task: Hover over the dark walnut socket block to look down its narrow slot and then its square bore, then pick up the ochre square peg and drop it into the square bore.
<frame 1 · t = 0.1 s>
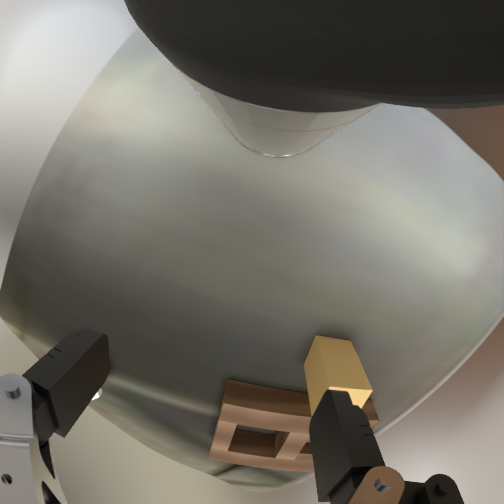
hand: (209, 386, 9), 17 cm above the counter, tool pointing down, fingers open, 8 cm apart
square peg: (327, 353, 28), on the counter
socket block: (289, 423, 31), on the counter
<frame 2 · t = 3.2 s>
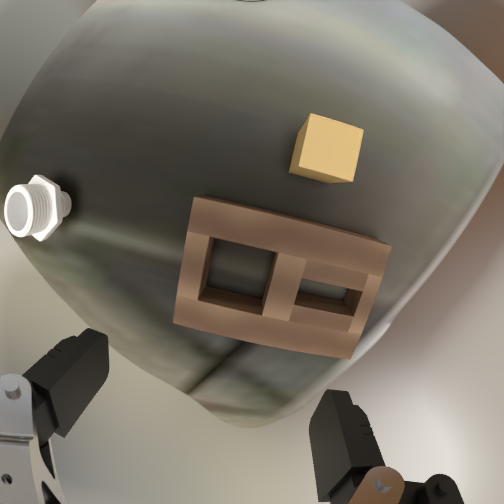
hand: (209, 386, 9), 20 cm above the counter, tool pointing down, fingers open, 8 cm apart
pipe fitting: (63, 204, 28), on the counter
square peg: (313, 158, 26), on the counter
socket block: (279, 274, 29), on the counter
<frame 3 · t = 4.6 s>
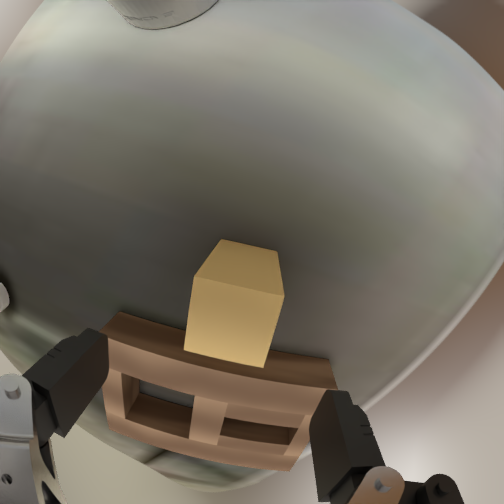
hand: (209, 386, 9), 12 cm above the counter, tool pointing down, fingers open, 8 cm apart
pipe fitting: (3, 293, 23), on the counter
square peg: (243, 271, 20), on the counter
socket block: (211, 391, 23), on the counter
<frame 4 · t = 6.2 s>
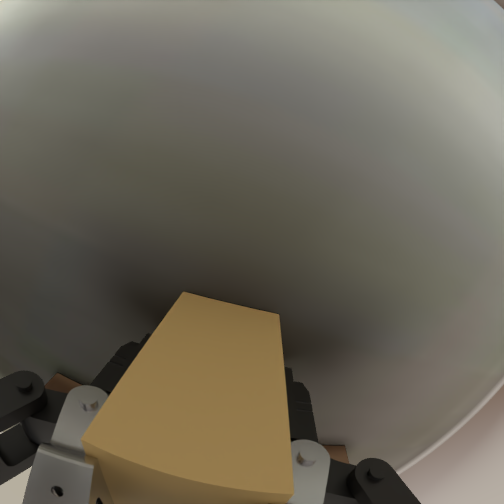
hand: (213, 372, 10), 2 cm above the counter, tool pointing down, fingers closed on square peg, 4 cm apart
square peg: (221, 343, 12), on the counter, touching gripper
socket block: (185, 472, 15), on the counter
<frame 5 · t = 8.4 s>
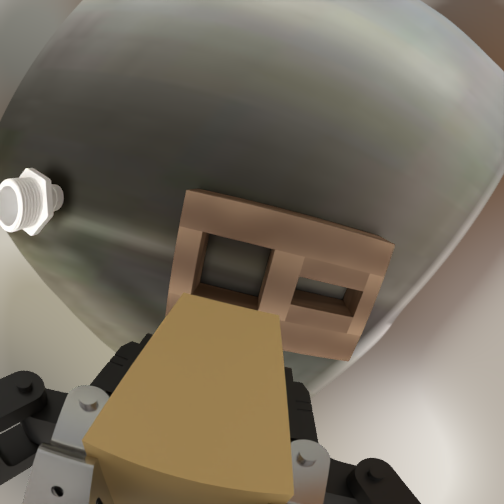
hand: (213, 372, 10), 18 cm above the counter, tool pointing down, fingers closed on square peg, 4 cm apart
pipe fitting: (55, 197, 27), on the counter
square peg: (221, 344, 12), point 16 cm above the counter, touching gripper
socket block: (275, 271, 27), on the counter
when the fingers open (5 cm above the counter, at t = 10.8 s): square peg drops 3 cm, resting in socket block.
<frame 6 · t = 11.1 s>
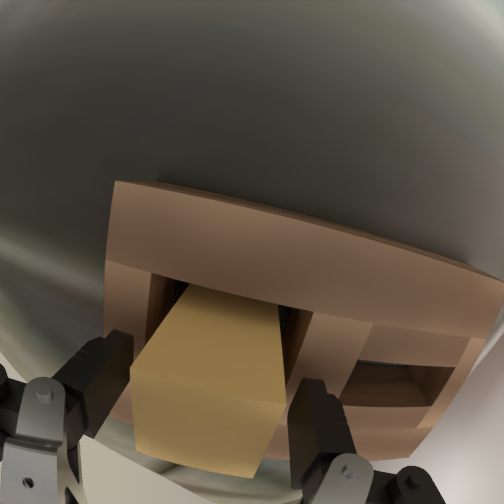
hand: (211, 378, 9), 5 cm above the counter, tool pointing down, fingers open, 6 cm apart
square peg: (229, 317, 14), resting in socket block
socket block: (302, 333, 14), on the counter
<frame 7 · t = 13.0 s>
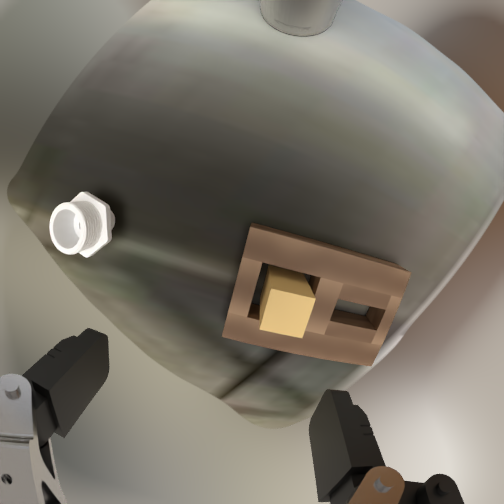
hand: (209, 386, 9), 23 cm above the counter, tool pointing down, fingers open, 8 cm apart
pipe fitting: (105, 220, 31), on the counter
square peg: (281, 285, 32), resting in socket block
socket block: (314, 293, 32), on the counter
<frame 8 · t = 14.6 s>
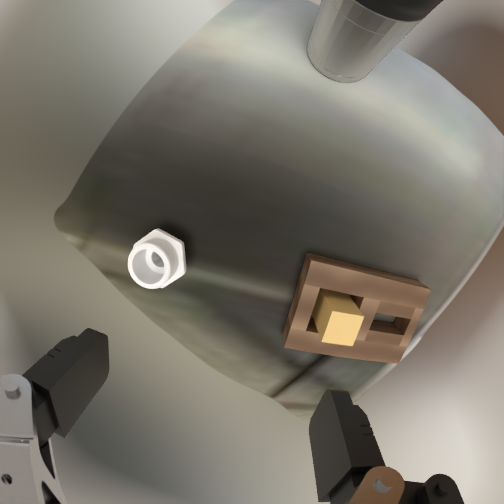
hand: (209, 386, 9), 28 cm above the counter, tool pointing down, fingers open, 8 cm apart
pipe fitting: (170, 250, 37), on the counter
square peg: (328, 302, 38), resting in socket block
socket block: (354, 307, 38), on the counter
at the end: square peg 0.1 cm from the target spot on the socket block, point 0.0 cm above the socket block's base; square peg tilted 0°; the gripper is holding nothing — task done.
